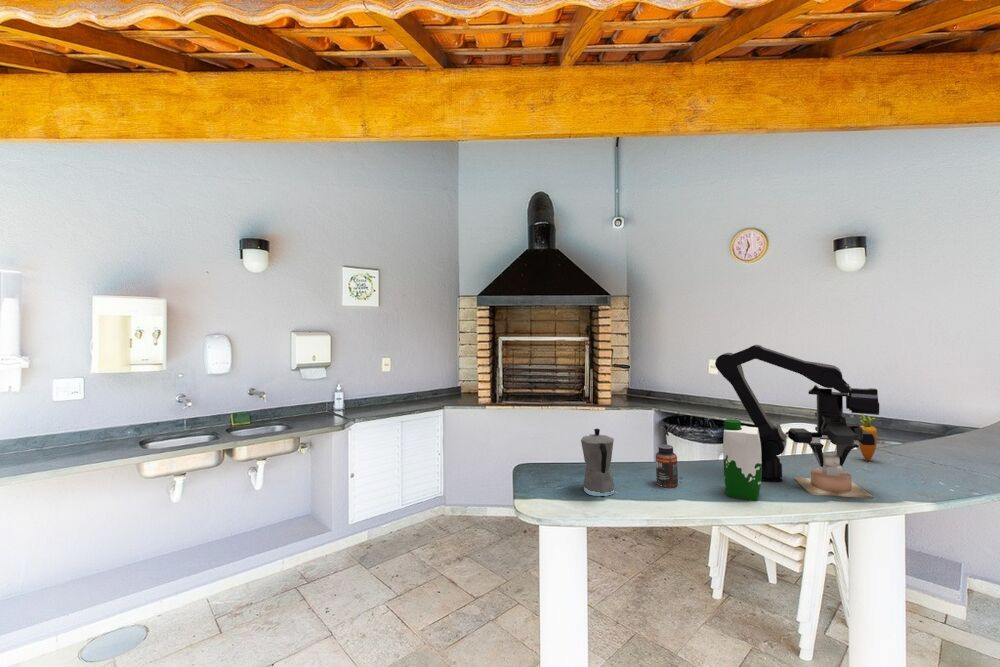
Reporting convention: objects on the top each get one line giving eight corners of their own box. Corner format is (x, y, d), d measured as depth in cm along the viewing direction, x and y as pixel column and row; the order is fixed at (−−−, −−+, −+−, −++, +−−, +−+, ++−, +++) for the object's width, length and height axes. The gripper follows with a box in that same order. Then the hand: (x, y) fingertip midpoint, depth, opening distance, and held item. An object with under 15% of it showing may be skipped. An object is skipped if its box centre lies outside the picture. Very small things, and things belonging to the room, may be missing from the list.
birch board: (810, 494, 116) (810, 492, 116) (794, 479, 126) (793, 477, 126) (872, 498, 112) (872, 495, 112) (850, 482, 123) (850, 480, 123)
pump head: (830, 479, 115) (830, 461, 115) (818, 470, 122) (818, 453, 121) (848, 479, 114) (848, 462, 114) (835, 470, 121) (835, 453, 120)
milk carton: (725, 485, 124) (724, 416, 123) (762, 491, 119) (761, 419, 118) (722, 496, 116) (721, 423, 116) (762, 503, 112) (760, 426, 111)
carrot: (881, 463, 136) (881, 416, 136) (863, 463, 137) (863, 416, 137) (871, 458, 141) (870, 413, 140) (854, 458, 142) (853, 413, 141)
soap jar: (819, 491, 116) (819, 469, 116) (805, 479, 125) (804, 459, 125) (858, 493, 114) (858, 471, 114) (841, 480, 122) (841, 460, 122)
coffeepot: (578, 482, 131) (576, 423, 130) (609, 481, 130) (607, 422, 130) (588, 504, 115) (586, 437, 115) (623, 503, 115) (621, 436, 114)
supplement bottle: (678, 481, 128) (677, 444, 128) (677, 489, 123) (676, 450, 122) (657, 479, 131) (656, 442, 130) (655, 486, 125) (654, 448, 125)
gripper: (803, 417, 113) (804, 475, 114) (888, 418, 108) (888, 479, 109) (786, 408, 124) (787, 461, 125) (863, 409, 119) (864, 465, 120)
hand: (830, 467), depth 119 cm, fingers closed on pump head, 4 cm apart
